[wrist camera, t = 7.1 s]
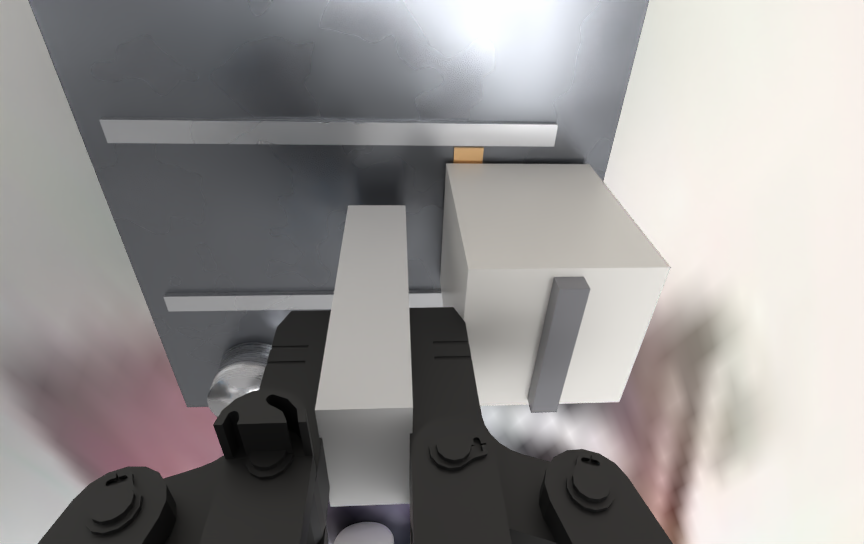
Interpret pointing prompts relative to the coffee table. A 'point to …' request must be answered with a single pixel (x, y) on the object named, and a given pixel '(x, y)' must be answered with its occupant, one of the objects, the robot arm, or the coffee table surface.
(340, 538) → the bone shaped toy
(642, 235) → the block
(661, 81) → the coffee table surface
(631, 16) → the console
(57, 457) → the coffee table surface
